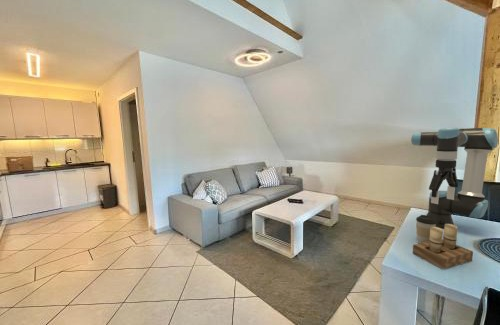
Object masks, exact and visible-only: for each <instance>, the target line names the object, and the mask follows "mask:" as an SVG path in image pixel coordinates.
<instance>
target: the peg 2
mask: <svg viewBox="0 0 500 325" xmlns="http://www.w3.org/2000/svg"><path fill="white" fill-rule="evenodd" d="M458 229H459V228H458V225H455V224H454V225H452V224H445V226H444V229H443V244H444V247H446V248H448V249H450V250H454V248H455V246H456V245H457V241H458V240H457V237H458Z"/></svg>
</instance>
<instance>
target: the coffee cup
mask: <svg viewBox="0 0 500 325" xmlns="http://www.w3.org/2000/svg"><path fill="white" fill-rule="evenodd" d="M426 215H427V214H420V215H419V216H417V217H416V219H415V221H416V225H415V227H416V228H415V229H416V241H417V242H418V243H423V242H427V241H429V238H430V227H435V226H436V224H437V223H436V220H434V218H432V217H429V216H426Z"/></svg>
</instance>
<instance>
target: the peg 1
mask: <svg viewBox="0 0 500 325" xmlns="http://www.w3.org/2000/svg"><path fill="white" fill-rule="evenodd" d="M443 236H444V229H441V228H438V227H430V238H429V247H430V251H432V252H434V253H436V254H439V253H440V250H442V239H443Z"/></svg>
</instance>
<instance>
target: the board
mask: <svg viewBox="0 0 500 325" xmlns="http://www.w3.org/2000/svg"><path fill="white" fill-rule="evenodd" d="M412 254H413V255H414V256H417V257H418V258H420V259H422V260H424V261H425V262H428V263H429V264H432V265H434V266H436V267H437V268H440V269H441V270H446V269H450V268H452V267H456V266H460V265H463V264H466V263H471V262H473V256H474V251H473V250H470V249H468V248H465V247H463V246H460V245H458V244H456V246H455V248H454V250H450V249H448V248H446V247H444V244H443V239H442V250H440V253H439V254H436V253H434V252H432V251H430V247H429V241H427V242H423V243H419V242H418V243H415V244H413V245H412Z"/></svg>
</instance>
